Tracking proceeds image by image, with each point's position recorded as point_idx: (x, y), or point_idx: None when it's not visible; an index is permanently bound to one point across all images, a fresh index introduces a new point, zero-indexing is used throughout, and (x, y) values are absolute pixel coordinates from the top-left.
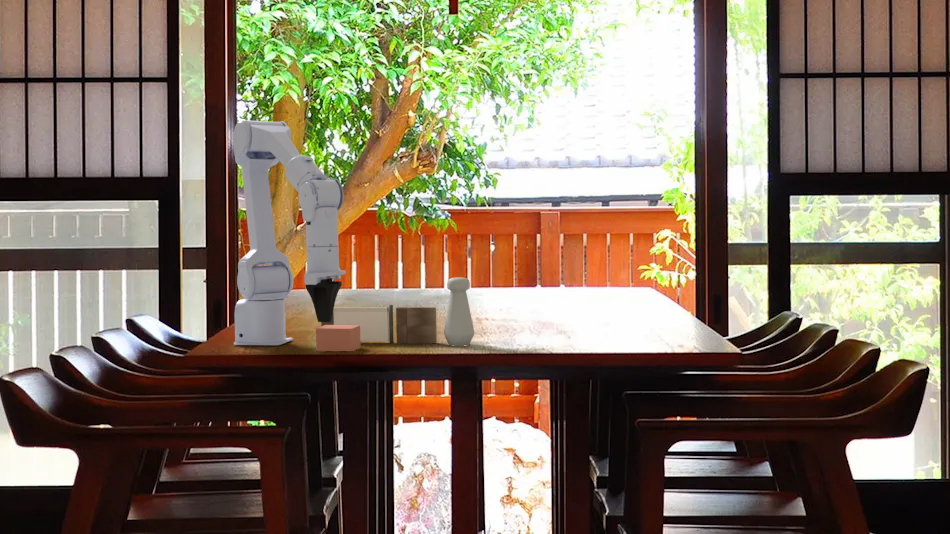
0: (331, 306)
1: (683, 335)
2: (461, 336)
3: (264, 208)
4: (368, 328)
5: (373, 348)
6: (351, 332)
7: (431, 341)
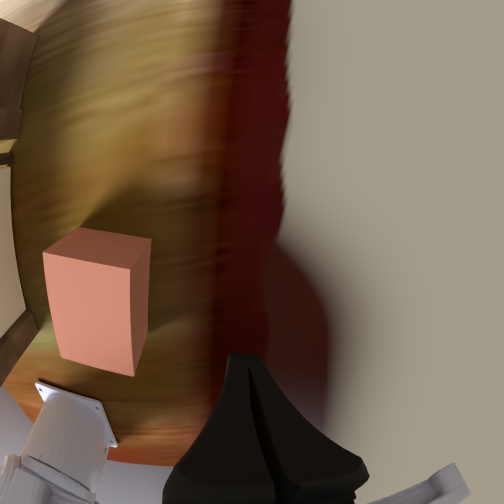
0: (270, 395)
1: None
2: None
3: None
4: None
5: (87, 184)
6: (134, 263)
7: (32, 44)
